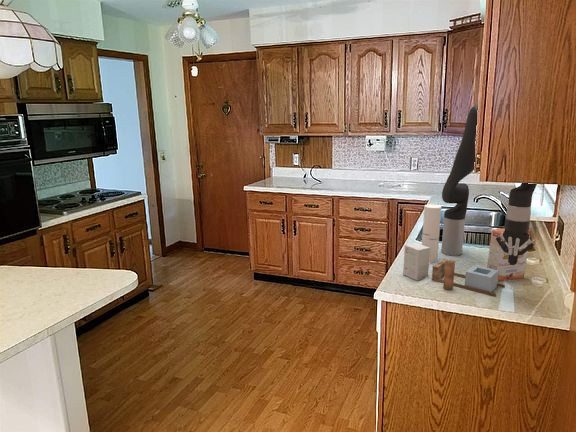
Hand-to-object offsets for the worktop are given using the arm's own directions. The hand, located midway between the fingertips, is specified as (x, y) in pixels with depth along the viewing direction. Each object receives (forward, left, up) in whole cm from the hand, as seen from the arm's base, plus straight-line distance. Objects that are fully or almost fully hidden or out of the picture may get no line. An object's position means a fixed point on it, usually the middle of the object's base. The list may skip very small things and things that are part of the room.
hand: (512, 264), depth 161 cm
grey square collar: (0, -10, -12) cm, 15 cm away
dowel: (+9, -19, -13) cm, 25 cm away
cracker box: (-17, -6, -13) cm, 22 cm away
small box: (+3, -35, -13) cm, 37 cm away
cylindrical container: (-19, -39, -13) cm, 45 cm away
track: (0, -15, -13) cm, 20 cm away
